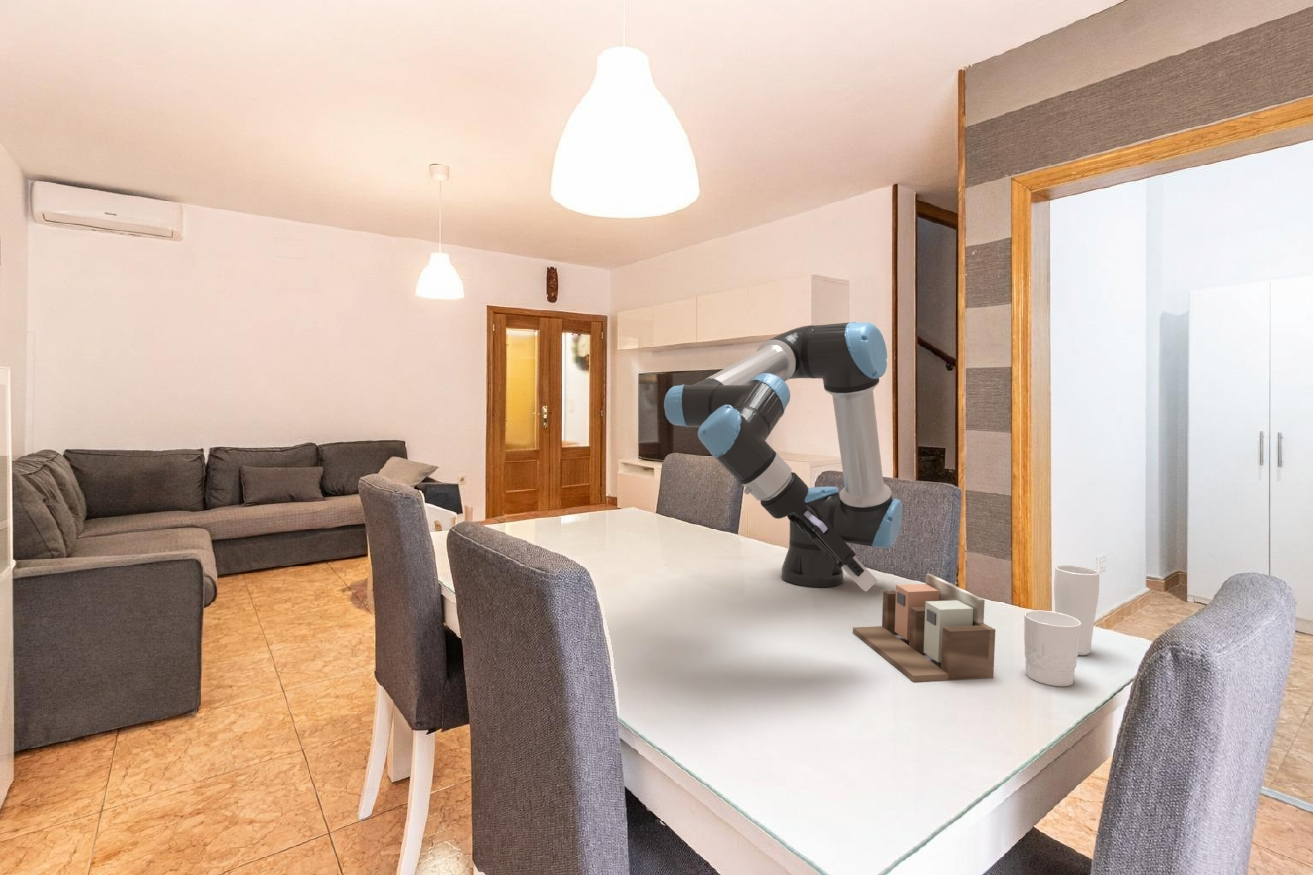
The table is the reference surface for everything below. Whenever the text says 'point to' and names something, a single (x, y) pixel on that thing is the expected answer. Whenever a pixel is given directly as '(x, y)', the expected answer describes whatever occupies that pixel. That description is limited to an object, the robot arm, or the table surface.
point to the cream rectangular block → (943, 623)
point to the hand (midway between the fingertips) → (869, 584)
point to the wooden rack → (961, 646)
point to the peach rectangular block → (911, 604)
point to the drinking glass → (1078, 599)
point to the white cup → (1051, 647)
